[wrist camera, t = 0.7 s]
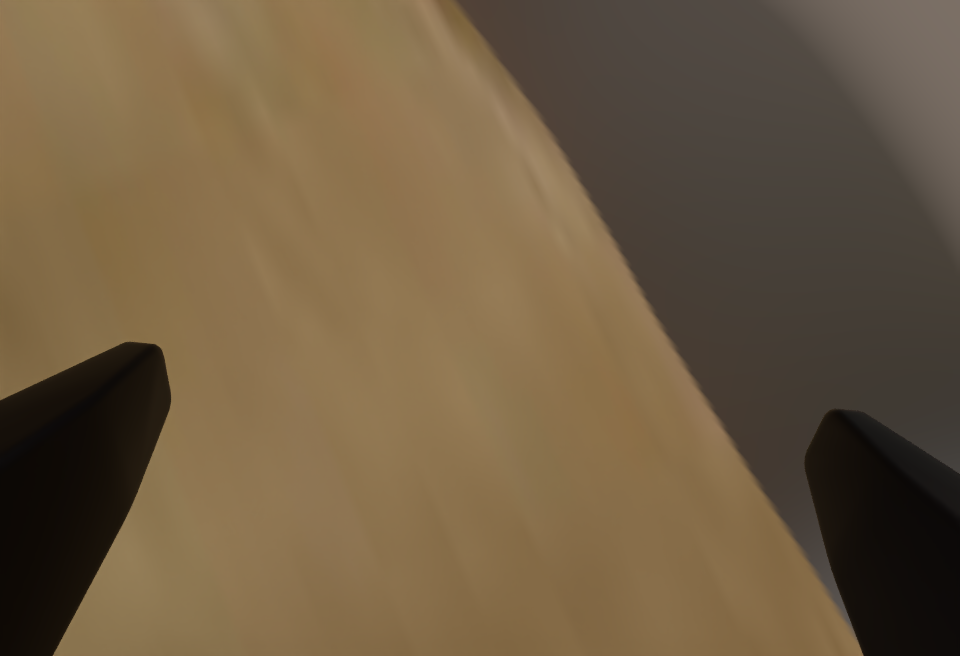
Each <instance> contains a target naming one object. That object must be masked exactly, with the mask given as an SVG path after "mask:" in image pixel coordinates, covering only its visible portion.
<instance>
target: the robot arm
mask: <svg viewBox="0 0 960 656" xmlns="http://www.w3.org/2000/svg"><path fill="white" fill-rule="evenodd" d="M170 404H171V391H170V386H169V381H168V375H167V370H166V365H165V360H164V355H163V352H162V350H161V348H160V347H159V346H157V345H156V344H148V343H138V342H125V343H122V344H120V345H118V346H116V347H114V348H112V349H109V350H107V351H105V352H103V353H101V354H99V355H97V356H94V357H92V358H90V359H88V360H86V361H84V362H82V363H79V364H77V365H75V366H73V367H71V368H69V369H67V370H64V371H62V372H60V373H58V374H56V375H54V376H52V377H49V378H47V379H45V380H43V381H41V382H39V383H37V384H34V385H32V386H30V387H28V388H26V389H24V390H22V391H20V392H17V393H15V394H13V395H11V396H9V397H7V398H5V399H2V400H0V656H53V654H54V652H55V650H56V649H57V647H58V645H59V643H60V641H61V639H62V637H63V635H64V634H65V632H66V630H67V628H68V626H69V624H70V622H71V620H72V619H73V617H74V615H75V613H76V611H77V609H78V607H79V605H80V604H81V602H82V600H83V598H84V596H85V594H86V592H87V590H88V588H89V587H90V585H91V583H92V581H93V579H94V577H95V575H96V573H97V572H98V570H99V568H100V566H101V564H102V562H103V560H104V558H105V557H106V555H107V553H108V551H109V549H110V547H111V545H112V543H113V542H114V540H115V538H116V536H117V534H118V532H119V530H120V528H121V526H122V525H123V523H124V521H125V519H126V517H127V514H128V512H129V510H130V508H131V506H132V504H133V501H134V499H135V497H136V494H137V492H138V489H139V487H140V484H141V482H142V479H143V476H144V474H145V471H146V469H147V466H148V464H149V461H150V458H151V456H152V453H153V451H154V448H155V446H156V443H157V441H158V438H159V435H160V433H161V430H162V428H163V425H164V423H165V420H166V417H167V415H168V412H169V409H170ZM804 463H805V472H806V476H807V480H808V484H809V487H810V491H811V495H812V499H813V503H814V506H815V510H816V514H817V518H818V522H819V526H820V530H821V534H822V537H823V541H824V545H825V549H826V553H827V556H828V559H829V563H830V566H831V570H832V572H833V575H834V578H835V581H836V584H837V587H838V589H839V592H840V595H841V597H842V600H843V602H844V605H845V608H846V610H847V613H848V616H849V618H850V621H851V623H852V626H853V629H854V632H855V634H856V637H857V640H858V642H859V645H860V647H861V650H862V653H863V655H864V656H960V474H959V473H957V472H956V471H954V470H953V469H951V468H950V467H948V466H946V465H945V464H944V463H942V462H940V461H939V460H937V459H936V458H934V457H933V456H931V455H929V454H928V453H926V452H925V451H923V450H922V449H920V448H919V447H917V446H916V445H914V444H912V443H911V442H909V441H908V440H906V439H905V438H903V437H902V436H900V435H898V434H897V433H895V432H894V431H892V430H891V429H889V428H888V427H886V426H884V425H883V424H881V423H880V422H878V421H877V420H875V419H873V418H872V417H870V416H869V415H867V414H866V413H864V412H861V411H855V410H844V409H832V410H830V411H828V412H827V413H826V414H825V415H824V417H823V419H822V421H821V423H820V425H819V427H818V429H817V431H816V433H815V435H814V437H813V439H812V441H811V444H810V445H809V447H808V449H807V452H806V455H805V462H804Z"/></svg>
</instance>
